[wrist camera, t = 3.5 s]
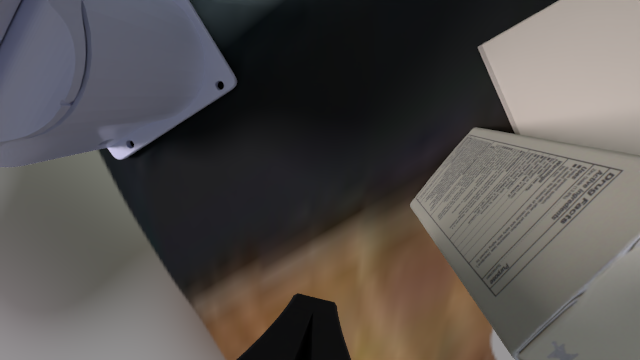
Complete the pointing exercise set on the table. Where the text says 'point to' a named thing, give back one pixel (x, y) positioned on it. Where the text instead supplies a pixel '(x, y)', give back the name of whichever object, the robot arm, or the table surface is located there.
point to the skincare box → (542, 242)
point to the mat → (572, 73)
